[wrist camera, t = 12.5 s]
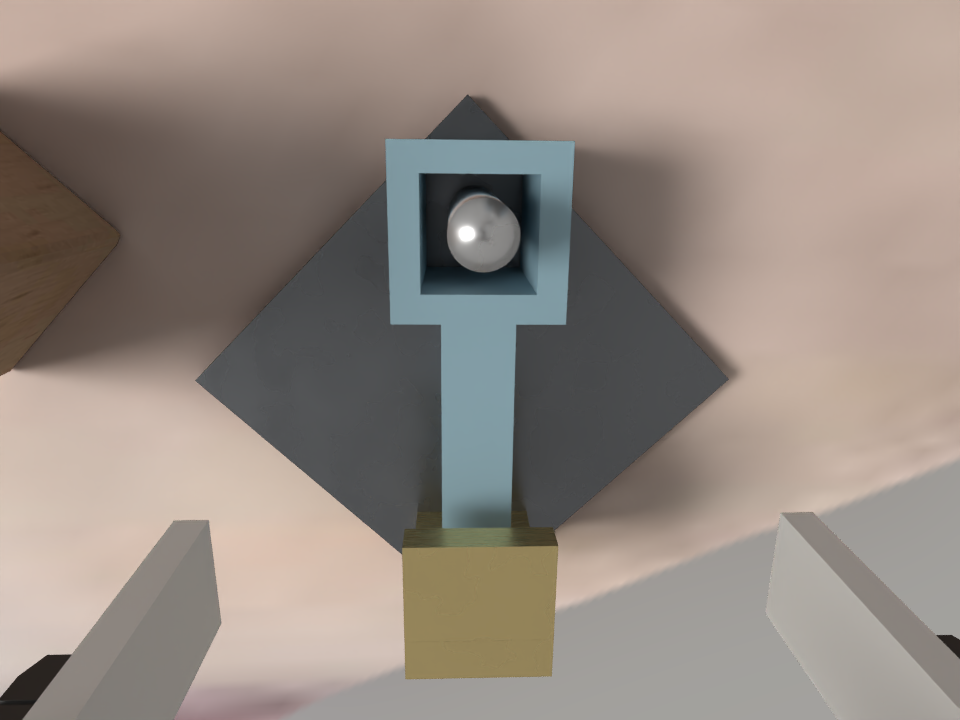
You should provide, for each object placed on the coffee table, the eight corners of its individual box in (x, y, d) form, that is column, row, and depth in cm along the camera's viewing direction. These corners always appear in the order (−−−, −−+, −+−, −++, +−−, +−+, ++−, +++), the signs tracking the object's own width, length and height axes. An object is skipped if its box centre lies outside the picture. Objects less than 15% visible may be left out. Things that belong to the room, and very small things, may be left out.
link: (399, 142, 32) (385, 138, 25) (549, 144, 32) (574, 141, 25) (407, 499, 37) (397, 575, 30) (535, 498, 37) (553, 573, 30)
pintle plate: (467, 96, 32) (475, 65, 21) (721, 373, 37) (836, 465, 26) (202, 374, 35) (90, 471, 25) (464, 596, 40) (469, 762, 29)
